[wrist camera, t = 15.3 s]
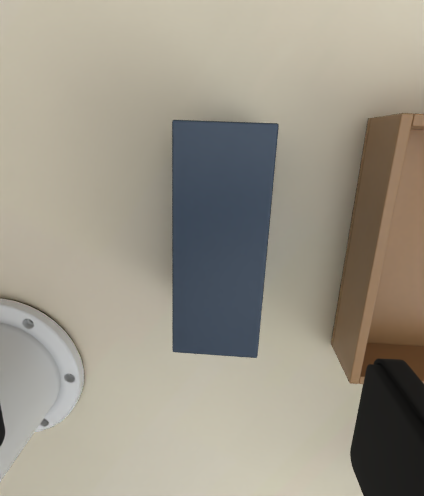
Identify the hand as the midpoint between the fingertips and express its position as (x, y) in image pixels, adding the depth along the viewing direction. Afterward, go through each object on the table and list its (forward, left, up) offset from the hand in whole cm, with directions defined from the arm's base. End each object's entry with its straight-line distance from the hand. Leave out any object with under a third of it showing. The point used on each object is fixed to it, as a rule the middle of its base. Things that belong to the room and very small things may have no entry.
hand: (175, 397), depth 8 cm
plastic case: (+1, +1, -16) cm, 16 cm away
